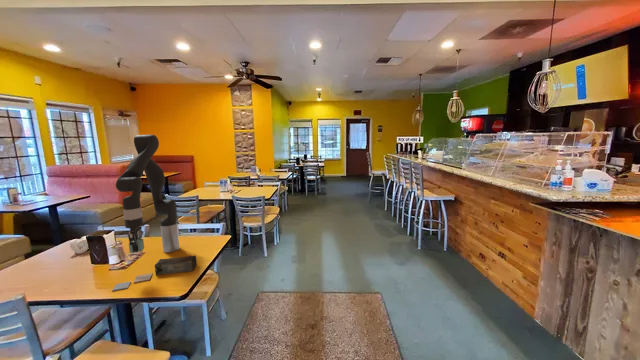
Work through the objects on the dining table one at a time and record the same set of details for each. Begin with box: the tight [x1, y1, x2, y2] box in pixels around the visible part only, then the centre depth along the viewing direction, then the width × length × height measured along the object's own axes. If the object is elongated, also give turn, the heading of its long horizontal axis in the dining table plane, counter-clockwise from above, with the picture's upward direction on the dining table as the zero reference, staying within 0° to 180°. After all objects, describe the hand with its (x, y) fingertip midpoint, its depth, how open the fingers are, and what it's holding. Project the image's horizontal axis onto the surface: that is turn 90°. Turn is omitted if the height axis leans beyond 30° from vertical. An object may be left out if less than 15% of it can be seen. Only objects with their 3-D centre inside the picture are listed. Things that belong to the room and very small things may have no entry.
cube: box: [128, 238, 145, 254], centre depth 136 cm, size 5×5×5 cm
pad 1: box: [111, 281, 131, 292], centre depth 131 cm, size 6×6×1 cm
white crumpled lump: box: [69, 235, 89, 255], centre depth 174 cm, size 11×12×9 cm
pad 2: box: [133, 272, 153, 284], centre depth 139 cm, size 7×7×1 cm
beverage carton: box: [154, 255, 198, 276], centre depth 147 cm, size 8×19×7 cm, turn 101°
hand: (137, 249), depth 136 cm, fingers closed on cube, 5 cm apart
